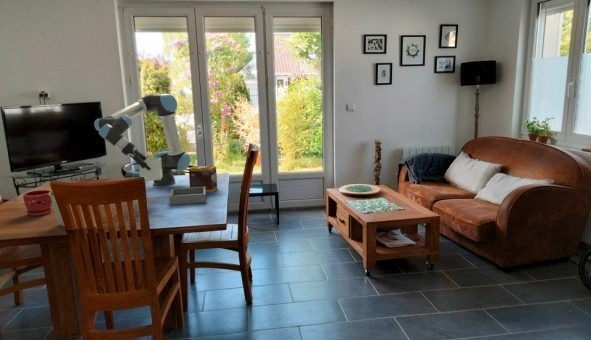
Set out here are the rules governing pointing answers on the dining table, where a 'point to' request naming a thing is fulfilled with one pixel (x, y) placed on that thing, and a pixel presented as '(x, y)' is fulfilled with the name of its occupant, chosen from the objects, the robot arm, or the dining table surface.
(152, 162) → the small crate
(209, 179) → the supplement box
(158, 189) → the dining table surface
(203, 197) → the large crate
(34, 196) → the plant pot
